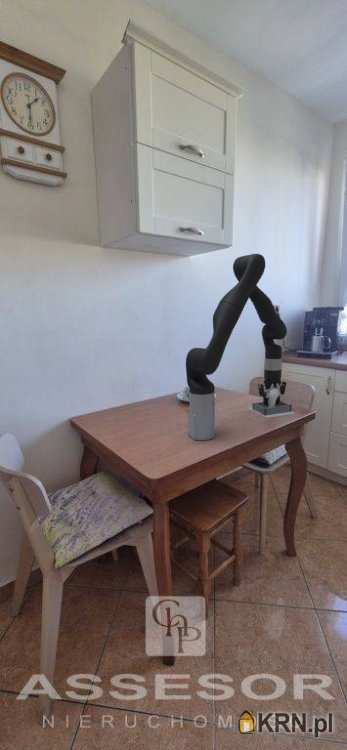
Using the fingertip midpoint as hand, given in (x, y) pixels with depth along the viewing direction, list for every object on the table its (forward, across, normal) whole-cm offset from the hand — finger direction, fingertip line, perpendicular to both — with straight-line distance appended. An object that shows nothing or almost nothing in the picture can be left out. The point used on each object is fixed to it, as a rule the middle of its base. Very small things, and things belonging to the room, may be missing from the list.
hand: (271, 404), depth 145 cm
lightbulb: (+3, 0, 0) cm, 3 cm away
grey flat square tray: (+3, 0, 0) cm, 3 cm away
